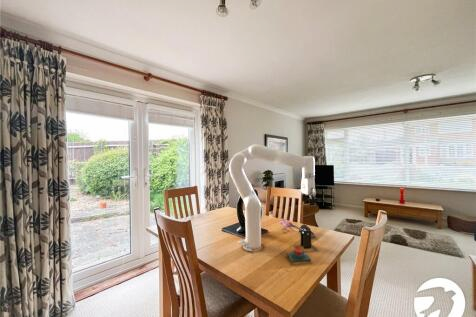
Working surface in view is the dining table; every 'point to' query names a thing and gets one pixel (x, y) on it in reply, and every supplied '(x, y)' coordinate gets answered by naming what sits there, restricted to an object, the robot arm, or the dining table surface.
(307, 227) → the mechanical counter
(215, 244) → the dining table surface
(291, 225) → the lever
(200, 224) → the dining table surface
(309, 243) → the bracket
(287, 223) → the lily
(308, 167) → the robot arm
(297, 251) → the button
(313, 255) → the dining table surface
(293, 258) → the button box
